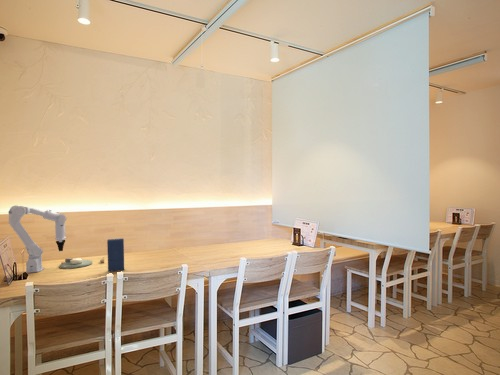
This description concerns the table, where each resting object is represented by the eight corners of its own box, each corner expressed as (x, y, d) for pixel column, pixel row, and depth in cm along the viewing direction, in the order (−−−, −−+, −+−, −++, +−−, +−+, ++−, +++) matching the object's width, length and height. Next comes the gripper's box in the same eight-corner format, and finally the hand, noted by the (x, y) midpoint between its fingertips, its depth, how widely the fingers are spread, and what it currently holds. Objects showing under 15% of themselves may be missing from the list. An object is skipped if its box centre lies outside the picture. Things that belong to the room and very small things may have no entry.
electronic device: (124, 268, 209) (123, 238, 208) (124, 270, 204) (123, 239, 203) (108, 269, 205) (107, 239, 205) (107, 272, 201) (107, 240, 200)
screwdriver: (103, 263, 224) (103, 260, 223) (100, 263, 223) (100, 260, 223) (104, 259, 235) (104, 256, 235) (101, 259, 234) (101, 256, 234)
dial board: (87, 267, 212) (87, 264, 212) (54, 269, 208) (54, 266, 208) (95, 260, 231) (95, 257, 231) (65, 262, 227) (65, 259, 227)
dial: (84, 261, 223) (84, 257, 223) (77, 264, 216) (77, 260, 216) (69, 261, 224) (69, 257, 224) (62, 264, 217) (62, 260, 217)
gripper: (67, 232, 215) (67, 252, 215) (66, 229, 227) (67, 248, 227) (55, 233, 211) (55, 253, 211) (55, 230, 223) (55, 249, 224)
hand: (60, 251), depth 219 cm, fingers closed
